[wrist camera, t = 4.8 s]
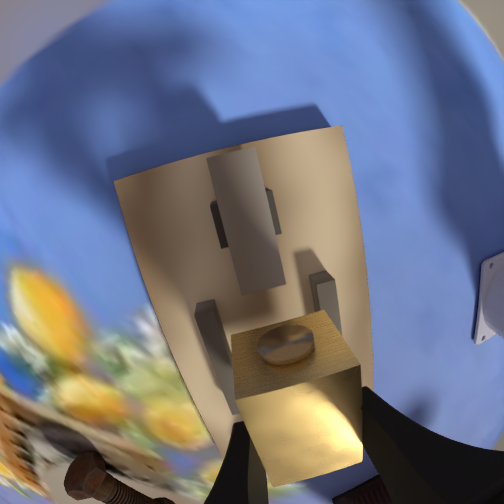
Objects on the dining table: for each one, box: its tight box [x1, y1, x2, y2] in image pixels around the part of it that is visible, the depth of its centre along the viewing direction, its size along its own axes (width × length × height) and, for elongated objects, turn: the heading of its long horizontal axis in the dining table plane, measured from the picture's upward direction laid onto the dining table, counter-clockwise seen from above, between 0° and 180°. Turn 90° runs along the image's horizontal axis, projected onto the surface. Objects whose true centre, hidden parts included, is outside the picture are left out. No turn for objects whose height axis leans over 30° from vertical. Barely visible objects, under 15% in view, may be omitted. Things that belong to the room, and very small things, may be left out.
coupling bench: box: [114, 125, 373, 478], centre depth 17 cm, size 12×22×4 cm, turn 13°
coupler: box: [231, 310, 363, 487], centre depth 11 cm, size 4×7×4 cm, turn 14°
